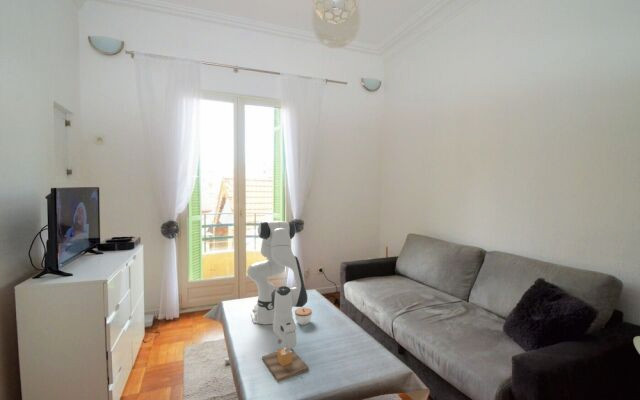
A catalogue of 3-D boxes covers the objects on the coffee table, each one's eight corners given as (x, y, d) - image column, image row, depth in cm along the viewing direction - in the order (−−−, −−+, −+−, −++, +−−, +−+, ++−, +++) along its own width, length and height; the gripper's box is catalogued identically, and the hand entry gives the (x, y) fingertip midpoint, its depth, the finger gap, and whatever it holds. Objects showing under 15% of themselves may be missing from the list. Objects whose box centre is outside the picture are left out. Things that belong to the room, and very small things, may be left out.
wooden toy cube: (277, 360, 148) (277, 349, 148) (287, 357, 151) (287, 346, 151) (281, 366, 144) (281, 355, 143) (292, 362, 146) (291, 351, 146)
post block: (262, 359, 152) (261, 349, 151) (290, 349, 160) (290, 340, 160) (277, 382, 135) (277, 370, 134) (308, 370, 143) (308, 359, 143)
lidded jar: (312, 319, 195) (312, 305, 194) (310, 327, 184) (310, 312, 183) (296, 318, 196) (296, 304, 195) (293, 326, 185) (293, 311, 185)
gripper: (269, 313, 153) (269, 339, 154) (286, 332, 136) (286, 360, 137) (281, 310, 156) (281, 336, 158) (298, 328, 139) (298, 356, 140)
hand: (283, 347), depth 147 cm, fingers open, 8 cm apart
